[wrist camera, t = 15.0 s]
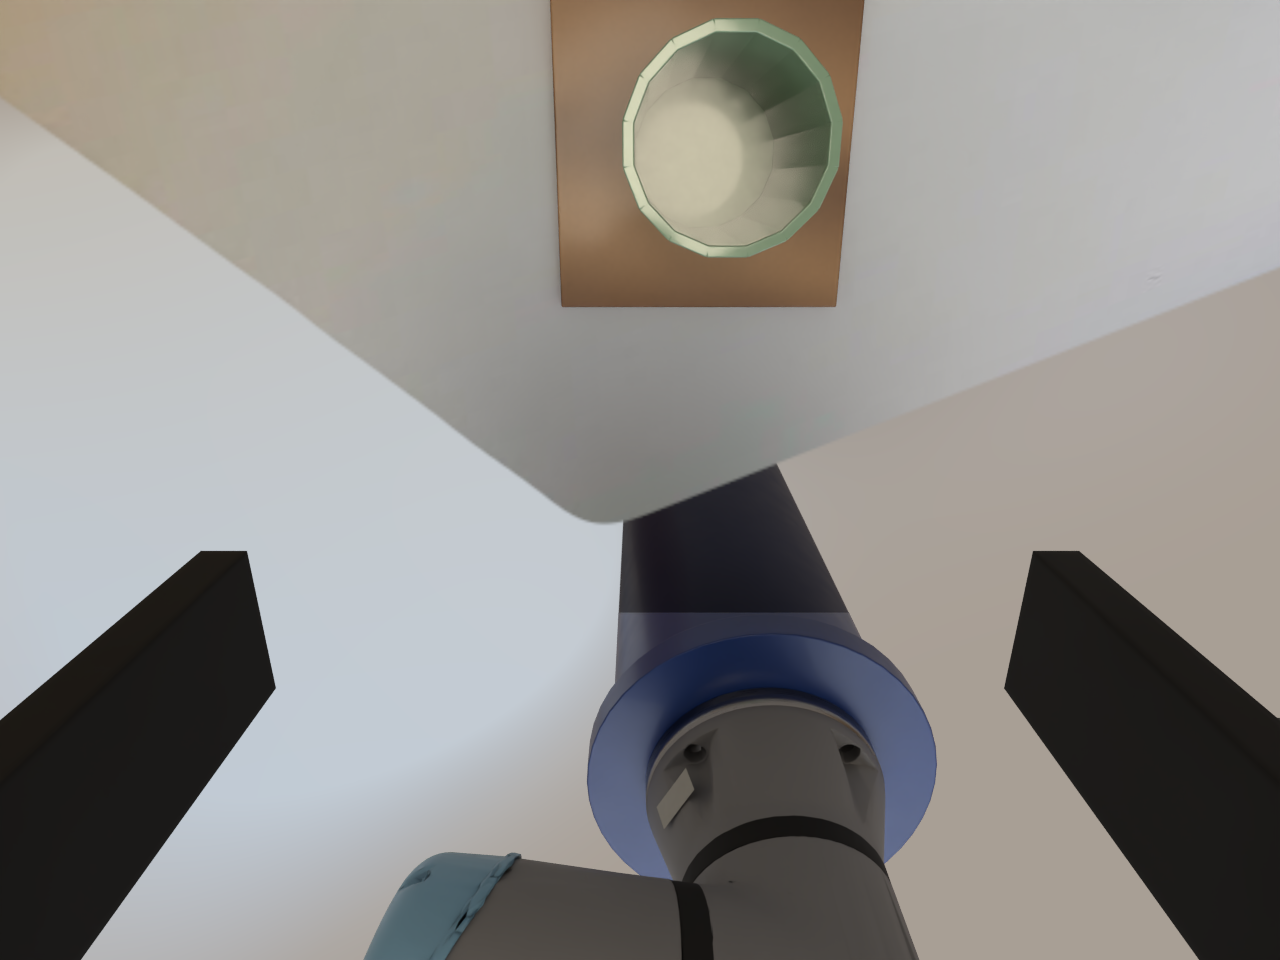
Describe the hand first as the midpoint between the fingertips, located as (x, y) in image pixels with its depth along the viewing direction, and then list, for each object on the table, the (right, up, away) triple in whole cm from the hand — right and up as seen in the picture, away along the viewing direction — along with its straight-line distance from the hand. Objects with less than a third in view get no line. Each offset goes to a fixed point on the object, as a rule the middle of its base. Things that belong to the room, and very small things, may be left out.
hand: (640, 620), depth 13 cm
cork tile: (+3, +18, +24) cm, 30 cm away
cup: (+3, +18, +23) cm, 29 cm away
